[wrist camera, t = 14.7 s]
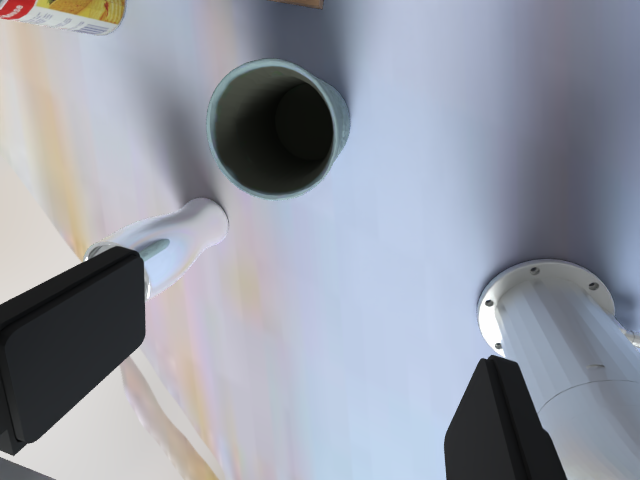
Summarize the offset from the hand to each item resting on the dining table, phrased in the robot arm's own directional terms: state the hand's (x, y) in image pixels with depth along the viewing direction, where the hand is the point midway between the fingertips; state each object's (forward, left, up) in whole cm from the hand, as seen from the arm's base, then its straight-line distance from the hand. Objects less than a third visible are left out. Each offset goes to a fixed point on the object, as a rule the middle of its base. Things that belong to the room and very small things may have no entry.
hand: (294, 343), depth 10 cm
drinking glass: (+8, -2, -31) cm, 32 cm away
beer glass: (+19, +12, -31) cm, 38 cm away
